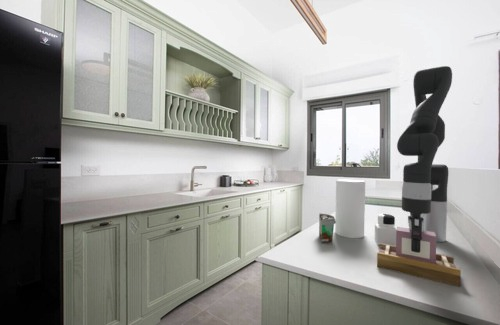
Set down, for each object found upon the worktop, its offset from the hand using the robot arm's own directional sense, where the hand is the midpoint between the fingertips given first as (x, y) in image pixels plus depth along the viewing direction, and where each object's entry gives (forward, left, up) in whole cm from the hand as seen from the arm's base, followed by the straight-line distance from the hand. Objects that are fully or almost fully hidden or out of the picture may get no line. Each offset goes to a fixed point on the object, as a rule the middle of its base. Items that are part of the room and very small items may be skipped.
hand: (414, 247), depth 73 cm
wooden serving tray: (0, 0, -7) cm, 7 cm away
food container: (-11, -30, -7) cm, 33 cm away
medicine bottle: (-21, -9, -7) cm, 24 cm away
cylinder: (-26, -24, -7) cm, 36 cm away
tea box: (0, 0, -4) cm, 4 cm away
